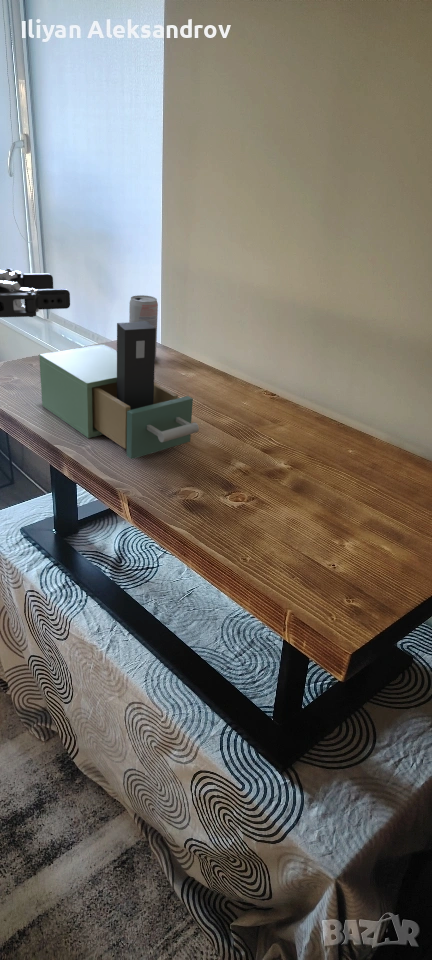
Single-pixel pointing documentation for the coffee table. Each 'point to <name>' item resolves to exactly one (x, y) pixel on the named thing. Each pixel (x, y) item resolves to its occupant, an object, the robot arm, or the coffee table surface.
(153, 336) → the black post
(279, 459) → the coffee table surface
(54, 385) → the cabinet
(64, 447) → the coffee table surface
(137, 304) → the energy drink
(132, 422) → the drawer
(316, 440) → the coffee table surface
